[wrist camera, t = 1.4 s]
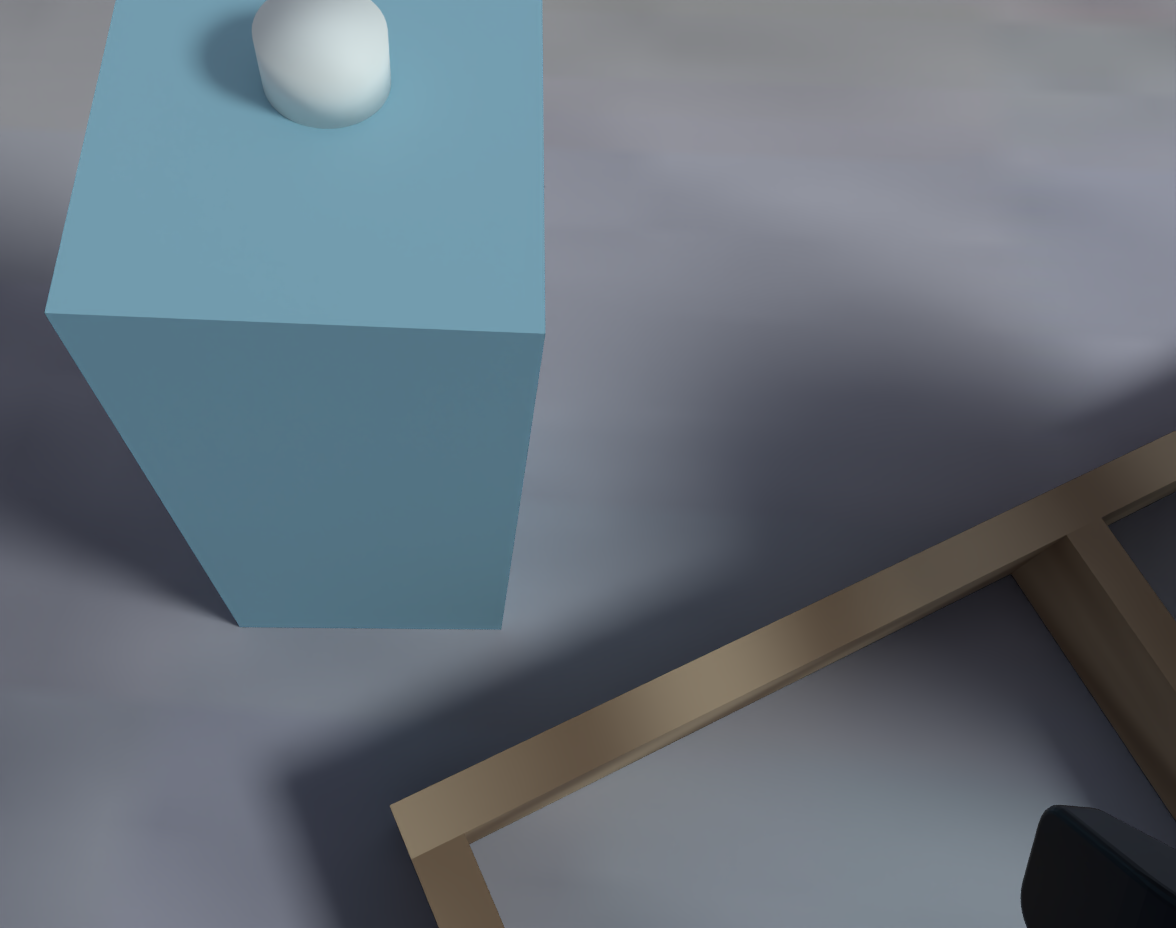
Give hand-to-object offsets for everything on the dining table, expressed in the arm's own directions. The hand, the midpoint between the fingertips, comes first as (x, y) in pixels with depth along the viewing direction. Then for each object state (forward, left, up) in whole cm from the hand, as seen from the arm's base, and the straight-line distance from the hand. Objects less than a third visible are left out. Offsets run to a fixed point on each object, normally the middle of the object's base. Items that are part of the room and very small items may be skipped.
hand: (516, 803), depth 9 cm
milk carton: (+1, +8, -13) cm, 16 cm away
